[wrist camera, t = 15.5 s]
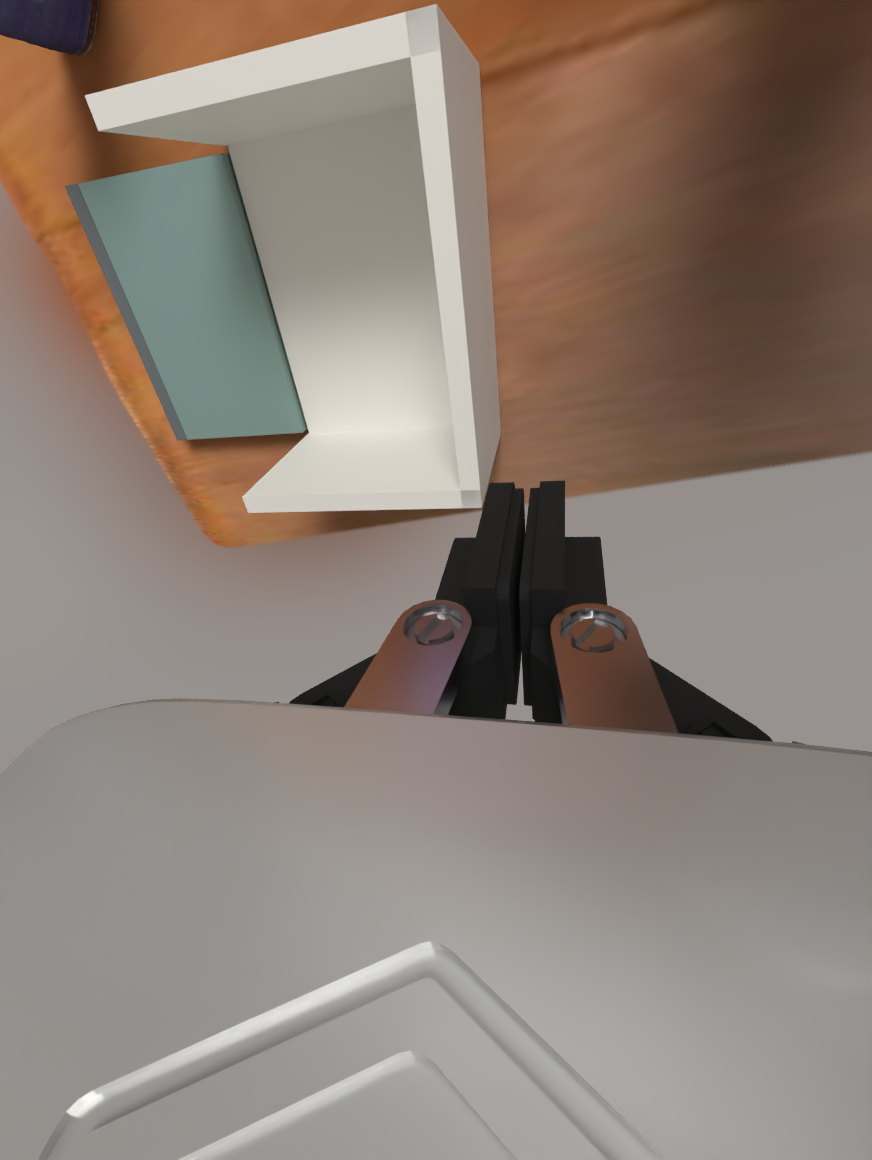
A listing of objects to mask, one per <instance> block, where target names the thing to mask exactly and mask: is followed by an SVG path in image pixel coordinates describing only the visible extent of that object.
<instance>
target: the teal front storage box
mask: <svg viewBox="0 0 872 1160" xmlns="http://www.w3.org/2000/svg"><path fill="white" fill-rule="evenodd" d="M85 98H86V100H87V103H88V106H89V108H90V111H91V113H92V116H93V118H94V121H95V123H96V126H97V128H98V131H102V132H110V133H119V134H128V135H136V136H145V137H153V138H162V139H171V140H179V141H188V142H196V143H205V144H213V145H222V146H228V150H229V153H230V157H231V160H232V164H233V167H234V171H235V174H236V178H237V181H238V185H239V188H240V192H241V195H242V199H243V202H244V206H245V209H246V213H247V216H248V220H249V223H250V227H251V230H252V234H253V237H254V241H255V244H256V248H257V251H258V255H259V259H260V262H261V266H262V269H263V273H264V276H265V280H266V283H267V287H268V290H269V294H270V297H271V301H272V304H273V308H274V311H275V315H276V318H277V322H278V325H279V329H280V332H281V336H282V339H283V343H284V346H285V350H286V353H287V357H288V360H289V364H290V367H291V371H292V374H293V378H294V381H295V385H296V389H297V392H298V396H299V399H300V403H301V406H302V410H303V413H304V417H305V420H306V424H307V427H308V431H309V433H308V434H307V435H306V436H305V437H304V438H303V439H302V440H301V441H300V442H299V443H298V444H297V445H296V446H295V447H294V448H293V449H291V450H290V451H289V452H288V453H287V454H286V455H285V456H284V457H283V458H282V459H281V460H280V461H279V462H278V463H277V464H276V465H275V466H274V467H273V468H272V469H271V470H270V471H269V472H268V473H267V474H266V475H264V476H263V477H262V478H261V479H260V480H259V481H258V482H257V483H256V484H255V485H254V486H253V487H252V488H251V489H250V490H249V491H248V492H247V493H246V494H245V495H244V496H243V497H242V498H243V500H244V503H245V505H246V508H247V511H248V513H262V512H309V511H356V510H403V509H450V508H482V505H483V501H484V498H485V494H486V490H487V486H488V482H489V478H490V474H491V471H492V467H493V463H494V459H495V455H496V451H497V447H498V444H499V440H500V436H501V423H500V406H499V389H498V373H497V356H496V339H495V322H494V306H493V289H492V272H491V255H490V238H489V222H488V205H487V188H486V171H485V154H484V138H483V121H482V104H481V87H480V71H479V63H478V62H477V60H476V59H475V57H474V56H473V55H472V53H471V52H470V50H469V49H468V48H467V46H466V45H465V43H464V42H463V41H462V39H461V38H460V36H459V35H458V34H457V32H456V31H455V29H454V28H453V27H452V25H451V24H450V22H449V21H448V20H447V18H446V17H445V15H444V14H443V12H442V11H441V10H440V8H439V7H438V5H437V4H434V5H431V6H427V7H423V8H419V9H415V10H411V11H407V12H404V13H400V14H396V15H392V16H388V17H384V18H381V19H377V20H373V21H369V22H365V23H361V24H357V25H354V26H350V27H346V28H342V29H338V30H334V31H331V32H327V33H323V34H319V35H315V36H311V37H308V38H304V39H300V40H296V41H292V42H288V43H284V44H281V45H277V46H273V47H269V48H265V49H261V50H258V51H254V52H250V53H246V54H242V55H238V56H234V57H231V58H227V59H223V60H219V61H215V62H211V63H208V64H204V65H200V66H196V67H192V68H188V69H184V70H181V71H177V72H173V73H169V74H165V75H161V76H158V77H154V78H150V79H146V80H142V81H138V82H135V83H131V84H127V85H123V86H119V87H115V88H111V89H108V90H104V91H100V92H96V93H92V94H88V95H85Z"/></svg>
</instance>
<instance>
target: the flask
mask: <svg viewBox="0 0 872 1160" xmlns="http://www.w3.org/2000/svg"><path fill="white" fill-rule="evenodd" d="M98 10H99V2H98V0H0V35H3V36H6V37H9V38H13V39H18V40H21V41H25V42H27V43H30V44H33V45H38V46H41V47H43V48H47V49H50V50H55V51H58V52H65V53H70V54H77V55H87V53H88V52H89V50H90V49H91V48H92V42H93V40H94V37H95V33H96V26H97V25H96V23H97V14H98Z"/></svg>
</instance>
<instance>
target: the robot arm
mask: <svg viewBox="0 0 872 1160" xmlns="http://www.w3.org/2000/svg"><path fill="white" fill-rule="evenodd" d="M521 652H522V669H523V688H524V705H528V706H532V713H533V714H532V715H533V719H534V720H535V722H531V721H518V720H505V717H506V708H507V704H514V705H516V703H517V693H518V683H519V673H520V662H521ZM0 1160H872V752H867V751H857V750H849V749H841V748H831V747H823V746H814V745H806V744H802V743H798V742H794V741H793V742H792V743H784V742H773V741H772V740H771V738H770V737H769V736H768V735H766V734H765V733H764V732H762V731H761V730H760V729H759V728H758V727H756V726H755V725H753V724H752V723H750V722H749V721H747V720H745V719H744V718H742V717H741V716H739V715H738V714H736V713H735V712H733V711H731V710H730V709H728V708H727V707H725V706H724V705H722V704H720V703H719V702H717V701H716V700H714V699H713V698H711V697H709V696H708V695H706V694H705V693H703V692H702V691H700V690H698V689H697V688H695V687H694V686H692V685H691V684H689V683H688V682H686V681H684V680H683V679H681V678H680V677H678V676H677V675H675V674H674V673H672V672H670V671H669V670H667V669H666V668H664V667H662V666H661V665H659V664H658V663H656V662H655V661H653V660H652V659H650V658H649V657H648V655H647V652H646V650H645V647H644V645H643V642H642V640H641V637H640V635H639V632H638V630H637V627H636V625H635V624H634V622H633V621H632V619H631V618H630V617H629V616H627V615H626V614H625V613H623V612H622V611H620V610H618V609H615V608H613V607H611V606H607V598H606V588H605V578H604V568H603V558H602V548H601V539H600V537H565V481H542V482H540V488H531V490H530V498H529V507H528V516H527V525H526V533H525V514H524V490H523V488H521V489H515V485H514V482H511V483H490V484H489V488H488V492H487V496H486V500H485V504H484V508H483V512H482V516H481V519H480V523H479V527H478V531H477V535H476V538H455V540H454V542H453V545H452V548H451V551H450V554H449V557H448V561H447V564H446V567H445V570H444V573H443V576H442V580H441V583H440V586H439V589H438V592H437V595H436V599H435V600H431V601H425V602H422V603H419V604H417V605H414V606H412V607H411V608H409V609H408V610H406V611H405V612H404V613H403V614H402V615H401V616H400V617H399V618H398V620H397V622H396V623H395V625H394V626H393V628H392V629H391V631H390V633H389V635H388V636H387V638H386V639H385V641H384V643H383V644H382V646H381V648H380V649H379V651H378V653H376V654H374V655H373V656H371V657H369V658H367V659H365V660H363V661H361V662H360V663H358V664H356V665H354V666H352V667H350V668H348V669H347V670H345V671H343V672H341V673H339V674H337V675H335V676H334V677H332V678H330V679H328V680H326V681H324V682H323V683H321V684H319V685H317V686H315V687H313V688H311V689H310V690H308V691H306V692H304V693H302V694H301V695H299V696H298V697H296V698H295V699H293V700H292V701H291V702H290V703H289V704H286V703H279V702H275V703H271V702H255V701H241V700H212V699H182V698H180V699H157V700H147V701H140V702H133V703H126V704H121V705H117V706H113V707H109V708H105V709H101V710H97V711H93V712H90V713H87V714H84V715H81V716H78V717H76V718H73V719H71V720H68V721H66V722H63V723H61V724H59V725H57V726H56V727H54V728H52V729H50V730H49V731H47V732H46V733H45V734H43V735H42V736H41V737H39V738H38V739H37V740H35V741H34V742H33V743H32V744H30V745H29V746H28V747H27V748H26V749H25V750H23V751H22V752H21V753H20V754H19V755H18V756H17V757H15V758H14V759H13V760H12V761H11V762H10V763H9V764H8V765H7V766H5V767H4V768H3V769H2V770H1V771H0Z"/></svg>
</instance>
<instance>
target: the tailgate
mask: <svg viewBox="0 0 872 1160" xmlns="http://www.w3.org/2000/svg"><path fill="white" fill-rule="evenodd" d="M65 188H66V190H67V192H68V195H69V197H70V199H71V201H72V204H73V206H74V208H75V210H76V213H77V215H78V217H79V219H80V222H81V224H82V226H83V228H84V231H85V233H86V235H87V237H88V240H89V242H90V244H91V246H92V249H93V251H94V253H95V255H96V258H97V260H98V262H99V265H100V267H101V269H102V271H103V274H104V276H105V278H106V280H107V283H108V285H109V287H110V289H111V292H112V294H113V296H114V298H115V301H116V303H117V305H118V307H119V310H120V312H121V314H122V316H123V319H124V321H125V323H126V325H127V328H128V330H129V332H130V335H131V337H132V339H133V341H134V344H135V346H136V348H137V350H138V353H139V355H140V357H141V359H142V362H143V364H144V366H145V368H146V371H147V373H148V375H149V377H150V380H151V382H152V384H153V386H154V389H155V391H156V393H157V395H158V398H159V400H160V402H161V404H162V407H163V409H164V411H165V414H166V416H167V418H168V420H169V423H170V425H171V427H172V429H173V432H174V434H175V436H176V438H177V441H179V440H192V439H208V438H225V437H241V436H258V435H274V434H290V433H303V432H304V431H305V430H306V429H307V428H308V427H307V424H306V420H305V417H304V413H303V410H302V406H301V403H300V399H299V396H298V392H297V389H296V385H295V381H294V378H293V374H292V371H291V367H290V364H289V360H288V357H287V353H286V350H285V346H284V343H283V339H282V336H281V332H280V329H279V325H278V322H277V318H276V315H275V311H274V308H273V304H272V301H271V297H270V294H269V290H268V287H267V283H266V280H265V276H264V273H263V269H262V266H261V262H260V259H259V255H258V251H257V248H256V244H255V241H254V237H253V234H252V230H251V227H250V223H249V220H248V216H247V213H246V209H245V206H244V202H243V199H242V195H241V192H240V188H239V185H238V181H237V178H236V174H235V171H234V167H233V164H232V160H231V157H230V154H216V155H211V156H207V157H202V158H197V159H192V160H188V161H183V162H178V163H174V164H169V165H164V166H159V167H155V168H150V169H145V170H140V171H136V172H131V173H126V174H121V175H117V176H112V177H107V178H102V179H98V180H93V181H88V182H84V183H79V184H73V185H69V186H65Z"/></svg>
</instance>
